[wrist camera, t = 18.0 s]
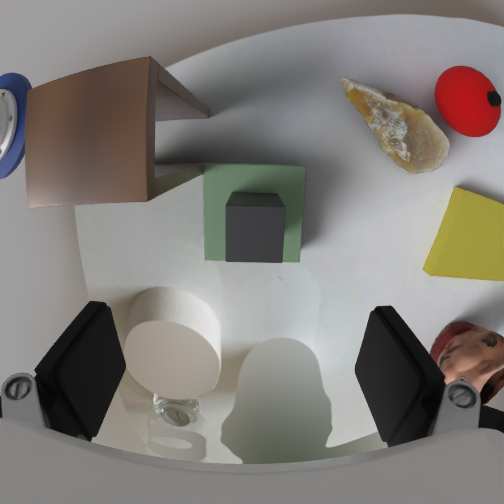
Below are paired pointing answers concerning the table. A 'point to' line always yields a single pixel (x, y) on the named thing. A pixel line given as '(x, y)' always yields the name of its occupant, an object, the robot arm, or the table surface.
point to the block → (254, 227)
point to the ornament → (468, 101)
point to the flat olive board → (469, 239)
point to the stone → (400, 128)
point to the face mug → (471, 358)
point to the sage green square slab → (252, 181)
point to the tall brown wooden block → (104, 135)
